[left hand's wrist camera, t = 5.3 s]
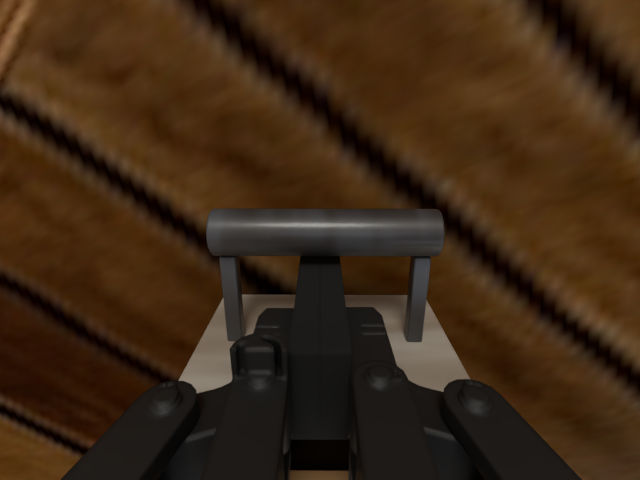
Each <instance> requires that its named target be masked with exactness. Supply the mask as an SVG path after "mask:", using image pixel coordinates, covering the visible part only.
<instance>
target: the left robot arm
mask: <svg viewBox="0 0 640 480" xmlns="http://www.w3.org/2000/svg"><path fill="white" fill-rule="evenodd" d="M230 359H231V369H232V381H231V382H230V383H228V384H226V385H224V386H222V387H219V388H216V389H213V390H209V391H205V392H200V393H197V392H196V389H195V388H194V387H193V385H192V384H190V383H187V382H185V381H168V382H164V383H160V384H158V385H156V386H154V387H151V388H149V389H148V390H147V391H146V392H144V393H143V394H142V395H141V396H139V398H138V399H137V400H136V401H135V402H134V403H133V404H132V405H131V406H130V407H129V408H128V409H127V410H126V411H125V412H124V413H123V414H122V415H121V417H120V418H119V419H118V420H117V421H116V422H115V423H114V424H113V425H112V426H111V427H110V428H109V429H108V430H107V431H106V432H105V433H104V434H103V436H102V437H101V438H100V439H99V440H98V441H97V442H96V443H95V444H94V445H93V446H92V447H91V448H90V449H89V450H88V451H87V452H86V453H85V454H84V456H83V457H82V458H81V459H80V460H79V461H78V462H77V463H76V464H75V465H74V466H73V467H72V468H71V469H70V470H69V471H68V472H67V473H66V475H65V476H64V477H63V478H62V479H61V480H289V476H290V463H291V450H290V441H291V440H350V450H349V477H348V480H582V479H581V478H580V477H579V476H578V475H577V474H576V473H575V472H574V471H573V470H572V469H571V468H570V467H569V466H568V465H567V464H566V463H565V462H564V461H563V460H562V458H561V457H560V456H559V455H558V454H557V453H556V452H555V451H554V450H553V449H552V448H551V447H550V446H549V445H548V444H547V443H546V442H545V441H544V440H543V439H542V438H541V436H540V435H539V434H538V433H537V432H536V431H535V430H534V429H533V428H532V427H531V426H530V425H529V424H528V423H527V422H526V421H525V420H524V419H523V418H522V417H521V416H520V414H519V413H518V412H517V411H516V410H515V409H514V408H513V407H512V406H511V405H510V404H509V403H508V402H507V401H506V400H505V399H504V398H503V397H502V396H501V395H500V394H499V393H498V392H497V391H495V390H494V389H493V388H492V387H490V386H488V385H486V384H484V383H481V382H479V381H475V380H470V379H457V380H454V381H452V382H449V383H448V384H447V385H446V387H445V388H444V392H442V391H437V390H433V389H429V388H425V387H422V386H419V385H417V384H415V383H413V382H411V381H409V380H408V378H407V376H406V374H405V373H404V371H403V370H402V369H401V368H399V367H398V366H397V364H396V361H395V358H394V354H393V351H392V347H391V344H390V341H389V337H388V335H387V331H386V327H385V324H384V321H383V317H382V315H381V314H380V313H379V312H378V311H377V310H376V309H375V308H374V307H346V304H345V296H344V288H343V280H342V273H341V265H340V257H339V256H301V257H300V265H299V273H298V280H297V288H296V296H295V304H294V308H266V309H265V310H264V311H263V312H262V313H261V314H260V315H259V316H258V319H257V322H256V325H255V329H254V332H253V334H249V335H247V336H244V337H241V338H240V339H238V340H237V341H236V342H234V343H233V345H232V346H231V348H230Z"/></svg>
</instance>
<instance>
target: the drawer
mask: <svg viewBox="0 0 640 480" xmlns="http://www.w3.org/2000/svg"><path fill="white" fill-rule="evenodd" d="M206 236H207V244H208V248H209V251H210V253H211V254H212V255H214V256H220V258H219V259H220V269H221V279H222V290H223V299H222V300H221V302H220V304H219V306H218V308H217V310H216V312H215V314H214V315H213V317H212V319H211V321H210V323H209V325H208V327H207V328H206V330H205V332H204V334H203V336H202V338H201V340H200V341H199V343H198V345H197V347H196V349H195V351H194V353H193V354H192V356H191V358H190V360H189V362H188V364H187V366H186V367H185V369H184V371H183V373H182V375H181V377H180V379H179V380H178V381H185V382H187V383H190V384H192V385H193V387H194V388H195V389H196V392H197V393H200V392H205V391H209V390H213V389H216V388H219V387H222V386H224V385H226V384H228V383H230V382H231V381H232V369H231V359H230V348H231V346H232V345H233V343H234V342H236V341H237V340H238V339H240V338H241V337H244V336H247V335H249V334H253V332H254V329H255V325H256V322H257V319H258V316H259V315H260V314H261V313H262V312H263V311H264V310H265V309H266V308H294V304H295V296H296V295H242V288H241V276H240V263H239V256H411V261H410V272H409V284H408V295H344V296H345V304H346V307H374V308H375V309H376V310H377V311H378V312H379V313H380V314H381V315H382V317H383V321H384V324H385V327H386V331H387V335H388V337H389V341H390V344H391V347H392V351H393V354H394V358H395V361H396V364H397V366H398V367H399V368H401V369H402V370H403V371H404V373H405V374H406V376H407V378H408V380H409V381H411V382H413V383H415V384H417V385H419V386H422V387H425V388H429V389H433V390H437V391H442V392H444V388H445V387H446V385H447V384H448V383H449V382H452V381H454V380H457V379H470V378H469V376H468V374H467V372H466V370H465V369H464V367H463V365H462V363H461V361H460V360H459V358H458V356H457V354H456V352H455V351H454V349H453V347H452V345H451V343H450V341H449V340H448V338H447V336H446V334H445V332H444V331H443V329H442V327H441V325H440V323H439V322H438V320H437V318H436V316H435V314H434V313H433V311H432V309H431V307H430V305H429V303H428V302H427V300H426V299H427V290H428V281H429V272H430V263H431V258H430V256H438V255H439V254H440V253H441V251H442V248H443V243H444V221H443V217H442V214H441V212H440V211H439V210H437V209H212V210H211V211H210V213H209V216H208V220H207V227H206ZM290 450H291V463H290V470H349V450H350V440H291V441H290Z"/></svg>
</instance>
